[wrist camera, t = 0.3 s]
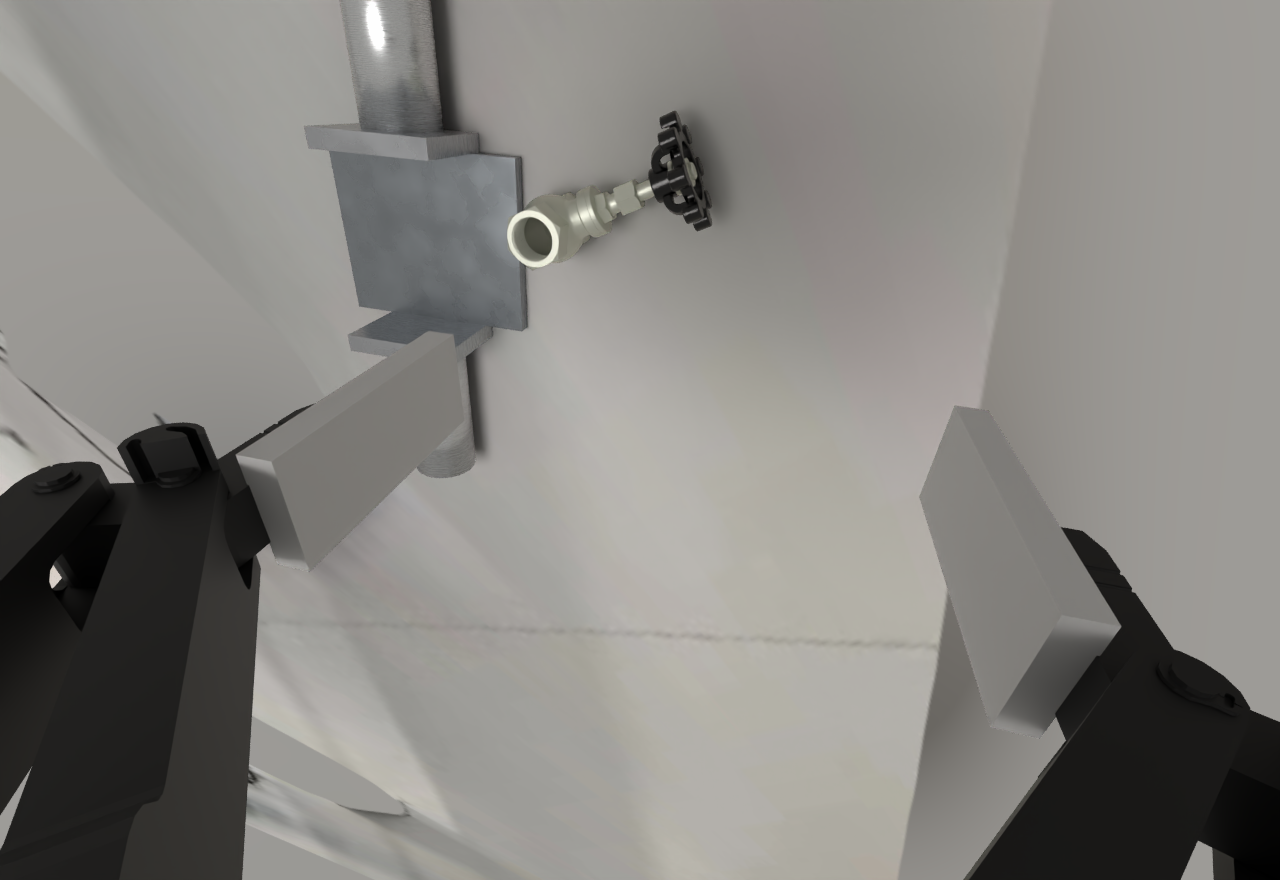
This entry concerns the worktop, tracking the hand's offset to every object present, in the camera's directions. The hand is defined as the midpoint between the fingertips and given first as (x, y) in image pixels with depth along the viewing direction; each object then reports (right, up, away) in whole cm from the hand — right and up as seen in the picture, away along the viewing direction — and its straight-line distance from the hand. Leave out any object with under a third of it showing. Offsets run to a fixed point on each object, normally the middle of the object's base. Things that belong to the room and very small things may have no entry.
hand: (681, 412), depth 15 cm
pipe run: (-16, +14, +27) cm, 35 cm away
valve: (-3, +16, +23) cm, 28 cm away
